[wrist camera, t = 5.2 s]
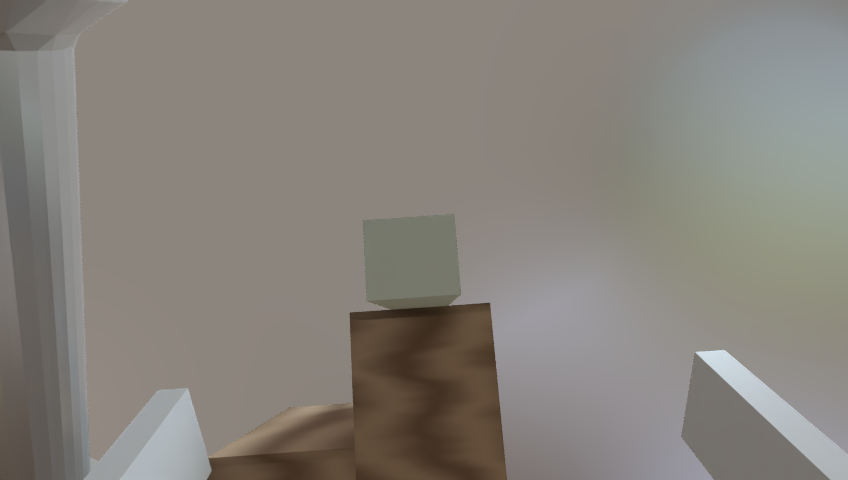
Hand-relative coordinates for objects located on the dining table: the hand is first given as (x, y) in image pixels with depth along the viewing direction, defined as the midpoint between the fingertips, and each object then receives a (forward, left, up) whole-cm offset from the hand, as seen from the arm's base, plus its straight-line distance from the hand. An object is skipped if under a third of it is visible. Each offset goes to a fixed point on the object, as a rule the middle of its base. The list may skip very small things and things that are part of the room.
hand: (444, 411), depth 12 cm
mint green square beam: (-1, +22, +3) cm, 23 cm away
